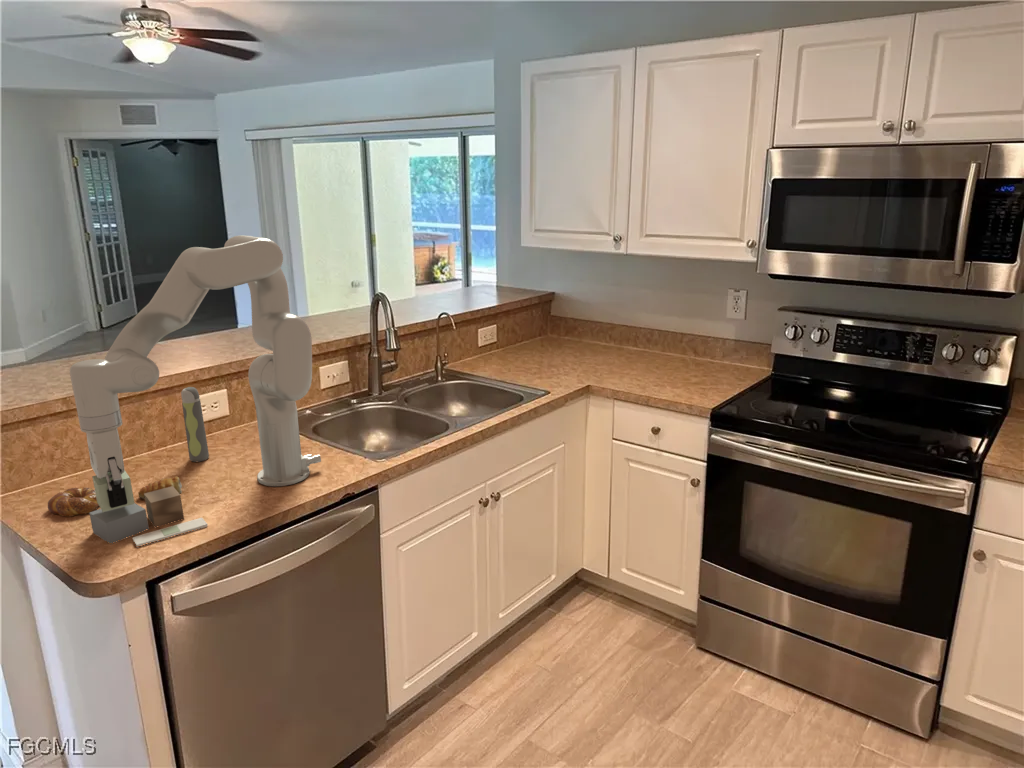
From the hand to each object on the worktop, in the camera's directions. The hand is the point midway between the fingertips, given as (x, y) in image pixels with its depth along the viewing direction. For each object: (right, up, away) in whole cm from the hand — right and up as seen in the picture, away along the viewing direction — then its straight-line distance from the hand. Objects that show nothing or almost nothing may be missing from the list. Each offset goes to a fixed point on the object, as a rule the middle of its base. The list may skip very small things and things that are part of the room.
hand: (115, 499), depth 149 cm
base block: (0, -7, +2) cm, 8 cm away
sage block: (0, -1, 0) cm, 1 cm away
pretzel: (-16, -4, +14) cm, 22 cm away
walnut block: (+7, -6, +8) cm, 12 cm away
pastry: (+1, -2, +20) cm, 20 cm away
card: (+11, -7, +1) cm, 13 cm away
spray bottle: (0, +4, +40) cm, 41 cm away
